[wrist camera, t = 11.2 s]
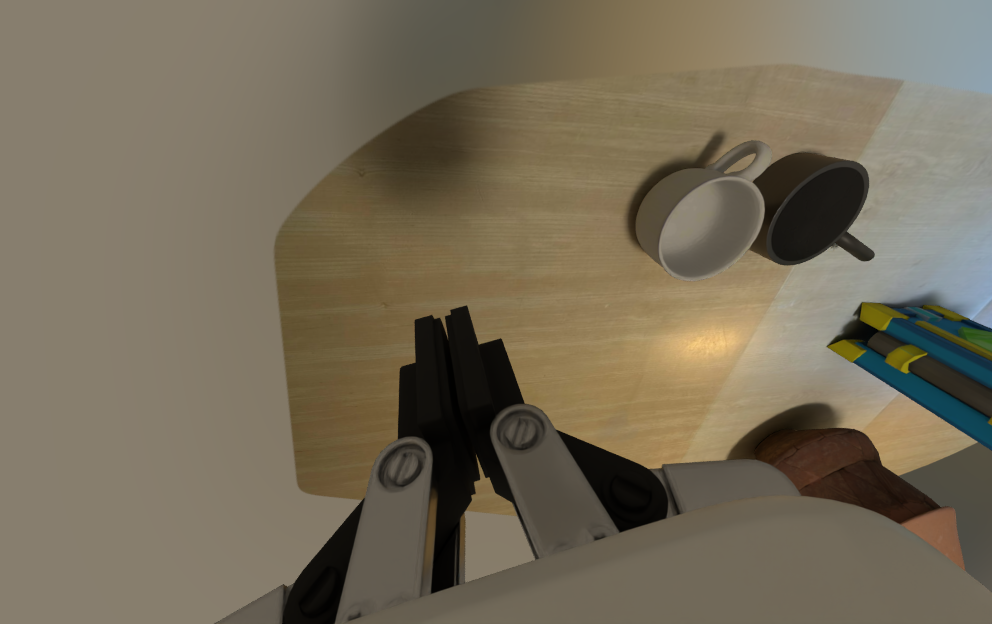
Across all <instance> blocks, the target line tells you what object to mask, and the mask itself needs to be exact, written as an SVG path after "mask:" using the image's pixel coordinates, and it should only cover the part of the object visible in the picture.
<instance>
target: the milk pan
mask: <svg viewBox="0 0 992 624" xmlns="http://www.w3.org/2000/svg"><path fill="white" fill-rule="evenodd" d="M753 183H754V184H755V185H756V187H757V188H758V189H759V191H760V193H761V194H762V197H763V199H764V207H765V212H764V219H763V223H762V226H761V229H760V231H759V233H758V235H757V237H756V239H755V240H754V242H753V243H752V245H751V247H750V248H749V250H751V251H753V252H755V253H757V254H759V255H761V256H763V257H765V258H767V259H769V260H771V261H773V262H775V263H778V264H780V265H796V264H800V263H803V262H806V261H808V260H810V259H812V258H814V257H816V256H818V255H819V254H821V253H822V252H824V251H825V250H827V249H828V248H829V247H831V246H832V245H833V244H834V243H836V244H837V245H839V246H840V247H841V248H843V249H844V250H846V251H847V252H849V253H850V254H852V255H853V256H854V257H856V258H857V259H859V260H861V261H869V260H871V259H872V258H873V257H874V255H875V254H874V252H873V251H872V250H871V249H870V248H868V247H867V246H866V245H864V244H863V243H862V242H860V241H859V240H858V239H856V238H855V237H854V236H852V235H851V234H849V233H848V232H847V230H848V229H849V227H850V226H851V225H852V224H853V222H854V221H855V219H856V218H857V216H858V215H859V213H860V211H861V209H862V207H863V205H864V203H865V200H866V197H867V194H868V189H869V177H868V173H867V171H866V169H865V168H864V167H863V166H862V165H861V164H859V163H857V162H854V161H849V160H844V159H838V158H833V157H827V156H822V155H817V154H811V153H797V154H792V155H789V156H787V157H785V158H782V159H780V160H779V161H777V162H775V163H774V164H772V165H771V166H770V167H768V168H767V169H766V170H765V171H764V172H763V173H762V174H761V175H759V176H758V177H757V178H756V179H755V181H754V182H753Z"/></svg>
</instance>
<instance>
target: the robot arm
mask: <svg viewBox="0 0 992 624" xmlns="http://www.w3.org/2000/svg"><path fill="white" fill-rule="evenodd" d="M450 311H451V315H448V316H445V320H446V327H447V333H448V338H447V335H446V332H445V329H444V327H443V324H442V321H441V319H440V318H437V319H434V317H433V316H432V315H430V316H427V317H423V318H419V319H416V320H415V354H416V363H413V364H409V365H406V366H402V367H401V368H400V379H399V416H398V440H396V441H394V442H392V443H391V444H389V445H388V446H387V447H386V448H385V449H384V450H382V451H381V453H380V454H379V456H378V457H377V458H376V460H375V462H374V465H373V468H372V471H371V475H370V479H369V483H368V487H367V492H366V496H365V498H364V499H363V500H362V501H361V502H360V504H359V505H358V506H357V507H356V508H355V510H354V511H353V512H352V513H351V514H350V515H349V517H348V518H347V519H346V520H345V521H344V523H343V524H342V525H341V526H340V527H339V529H338V530H337V531H336V532H335V533H334V535H333V536H332V537H331V538H330V539H329V540H328V541H327V543H326V544H325V545H324V547H322V549H321V550H320V551H319V552H318V553H317V555H316V556H315V557H314V558H313V559H312V560H311V562H310V563H309V564H308V565H307V567H306V568H305V569H304V570H303V571H302V573H301V574H300V576H299V577H298V578H297V580H296V581H295V583H293V584H292V585H290V586H288V587H287V586H285V585H284V584H283V585H281V586H279V587H278V588H276V589H274V590H272V591H271V592H269V593H267V594H265V595H264V596H262V597H260V598H258V599H257V600H255V601H253V602H251V603H250V604H248V605H246V606H244V607H243V608H241V609H239V610H237V611H236V612H234V613H232V614H230V615H229V616H227V617H225V618H223V619H222V620H220V621H218V622H216V623H214V624H992V593H991V592H990V591H989V590H988V589H986V588H985V587H984V586H983V585H982V584H981V583H979V582H978V581H977V580H976V579H974V578H973V577H972V576H970V575H969V574H968V573H967V572H965V571H964V570H963V569H962V568H960V567H959V566H958V565H956V564H955V563H954V562H953V561H951V560H950V559H949V558H948V557H946V556H945V555H944V554H943V553H941V552H940V551H939V550H937V549H936V548H934V547H933V546H932V545H930V544H929V543H927V542H926V541H925V540H923V539H922V538H920V537H919V536H917V535H916V534H914V533H913V532H911V531H910V530H908V529H907V528H905V527H903V526H902V525H900V524H898V523H896V522H894V521H893V520H891V519H889V518H887V517H885V516H883V515H881V514H879V513H876V512H874V511H871V510H868V509H865V508H862V507H859V506H856V505H852V504H848V503H843V502H839V501H835V500H830V499H822V498H815V497H808V496H801V494H800V493H799V491H798V490H797V488H796V487H795V485H794V484H793V483H792V482H791V480H790V479H789V478H788V477H787V476H786V475H785V474H784V473H783V472H781V471H780V470H778V469H777V468H775V467H774V466H772V465H770V464H767V463H765V462H762V461H759V460H751V459H738V460H723V461H707V462H692V463H676V464H662V468H659V469H647V468H645V467H644V466H642V465H640V464H638V463H635V462H633V461H630V460H628V459H626V458H623V457H621V456H618V455H616V454H614V453H611V452H609V451H606V450H604V449H602V448H599V447H597V446H594V445H592V444H589V443H587V442H585V441H582V440H580V439H577V438H575V437H573V436H570V435H568V434H565V433H563V432H561V431H558V430H556V429H555V428H554V426H553V425H552V423H551V421H550V420H549V418H548V417H547V415H546V414H545V413H544V412H543V411H542V410H541V409H539V408H537V407H536V406H533V405H529V404H525V403H524V400H523V397H522V395H521V392H520V389H519V386H518V383H517V381H516V378H515V375H514V372H513V369H512V366H511V364H510V361H509V358H508V355H507V352H506V350H505V347H504V344H503V341H502V339H497V340H494V341H490V342H487V343H483V344H480V345H478V341H477V338H476V334H475V331H474V328H473V324H472V321H471V317H470V314H469V310H468V307H467V306H463V307H459V308H456V309H452V310H450ZM448 340H449V341H448ZM476 455H477V457H478V460H479V462H480V465H481V467H482V470H483V472H484V475H485V477H486V478H488V477H490V480H491V483H492V485H493V488H494V490H495V493H496V494H498V495H500V496H502V497H503V498H505V499H507V500H509V501H510V502H512V504H513V507H514V509H515V511H516V514H517V516H518V519H519V521H520V524H521V526H522V529H523V531H524V533H525V536H526V539H527V541H528V543H529V546H530V548H531V551H532V553H533V556H534V558H535V560H534V561H531V562H528V563H525V564H522V565H518V566H516V567H512V568H509V569H506V570H503V571H500V572H497V573H494V574H491V575H488V576H485V577H482V578H479V579H476V580H472V581H470V582H466V583H465V514H464V512H465V510H466V509H467V507H468V506H469V504H470V503H471V501H472V497H471V495H473V494H476V492H475V486H474V482H475V481H478V480H480V474H479V468H478V463H477V457H476Z"/></svg>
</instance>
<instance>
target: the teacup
mask: <svg viewBox="0 0 992 624" xmlns="http://www.w3.org/2000/svg"><path fill="white" fill-rule="evenodd" d="M753 153H756V157H755V159H754V160H753V162H752V163H751V164H750V165H749V166H748V167H747V168H745V169H743V170H741V171H737V172H731V173H728V174H725V173H723V172H724V171H726V170H727V169H728V168H729V167H730V166H732V165H733V164H734V163H736V162H737V161H739V160H740V159H742V158H743V157H745V156H747V155H750V154H753ZM771 159H772V151H771V149H770V148H769V146H768V145H766V144H765V143H763V142H761V141H748V142H744V143H742V144H740V145H738V146H736V147H735V148H733V149H731V150H730V151H729V152H727V153H726V154H725V155H723V156H722V157H721V158H720V159H719V160H717V161H716V162H715V163H713V164H710V165H708V166H707V167H706V168H705V169H702V168H689V169H684V170H680V171H677V172H675V173H672V174H670V175H668V176H667V177H665V178H663V179H662V180H661V181H659V182H658V183H657V184H656V185H655V186H654V187H653V188H652V189H651V190H650V191H649V192H648V194H647V195H646V196H645V198H644V200H643V201H642V203H641V205H640V208H639V210H638V213H637V217H636V235H637V238H638V241H639V243H640V245H641V247H642V248H643V250H644V251H645V252H646V253H647V254H648V255H649V256H650V257H651V258H652V259H653V260H654V261H655V262H657V263H658V264H659V265H660V266H662V267H663V268H664V269H665V271H666V272H667V273H668V274H670V275H671V276H673V277H674V278H677V279H679V280H683V281H699V280H704V279H707V278H710V277H713V276H715V275H717V274H719V273H721V272H723V271H724V270H726V269H728V268H729V267H730V266H732V265H733V264H734V263H736V262H737V261H738V260H739V259H740V258H741V257H742V256H743V255H744V254H745V253H746V252H747V250H748V249H749V248H750V247H751V245H752V243H753V242H754V240H755V239H756V237H757V235H758V233H759V231H760V229H761V226H762V223H763V219H764V212H765V207H764V199H763V197H762V194H761V193H760V191H759V189H758V188H757V187H756V185H755V184H754V183H752V182H751V181H752V180H754V179H755V178H757V177H758V176H759V175H761V174H762V173H763V172H764V171H765V170H766V169H767V167H768V166H769V164H770V162H771Z"/></svg>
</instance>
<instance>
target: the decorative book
mask: <svg viewBox="0 0 992 624" xmlns="http://www.w3.org/2000/svg"><path fill="white" fill-rule="evenodd" d="M860 320H861V321H863V322H865V323H867V324H869V325H871V326H872V327H874V328H876V329H878V330H881V331H879V332H877V333H876V334H875V335H873V336H872V337H871V338H870V340H869V342H864V341H862V340H842V341H839V342H837V343H835V344H832V345H830V346H827V347H828V348H830V349H831V350H833V351H834V352H836V353H837V354H839V355H841V356H842V357H844V358H845V359H847V360H848V361H850V362H851V363H855V364H856V365H858V366H860V367H861V368H863V369H864V370H866V371H867V372H869V373H871V374H872V375H874V376H875V377H877V378H878V379H880V380H882V381H883V382H885V383H886V384H888V385H889V386H891V387H893V388H894V389H896V390H897V391H899V392H900V393H902V394H904V395H905V396H907V397H908V398H910V399H911V400H913V401H915V402H916V403H918V404H919V405H921V406H922V407H924V408H926V409H927V410H929V411H930V412H932V413H934V414H935V415H937V416H938V417H940V418H941V419H943V420H945V421H946V422H948V423H949V424H951V425H952V426H954V427H956V428H957V429H959V430H960V431H962V432H963V433H965V434H967V435H968V436H970V437H971V438H973V439H974V440H976V441H978V442H979V443H981V444H982V445H984V446H986V447H987V448H989V449H990V450H992V329H991V328H988V327H986V326H983V325H981V324H979V323H976V322H974V321H972V320H970V319H969V318H966V317H964V316H962V315H959V314H957V313H954V312H952V311H950V310H947V309H945V308H943V307H940V306H932V305H923V309H921V308H919V307H905V308H889V307H887V306H885V305H883V304H881V303H863V302H862V308H861V315H860Z"/></svg>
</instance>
